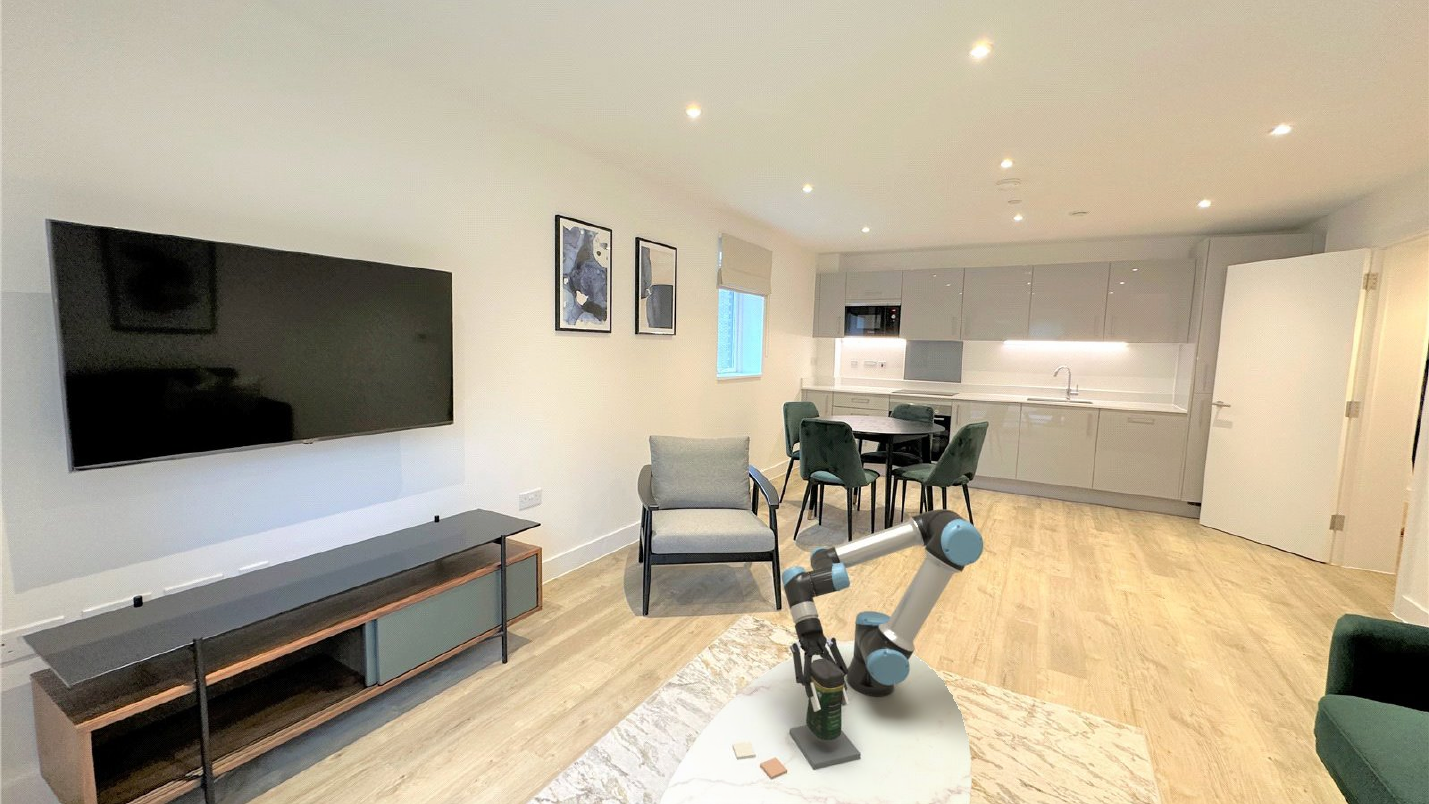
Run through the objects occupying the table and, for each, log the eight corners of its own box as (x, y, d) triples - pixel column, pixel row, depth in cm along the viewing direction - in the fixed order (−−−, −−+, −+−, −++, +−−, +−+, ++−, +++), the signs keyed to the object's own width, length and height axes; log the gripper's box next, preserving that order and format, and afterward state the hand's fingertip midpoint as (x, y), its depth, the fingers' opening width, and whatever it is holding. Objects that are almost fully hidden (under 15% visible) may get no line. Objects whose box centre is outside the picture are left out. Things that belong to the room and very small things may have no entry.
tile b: (750, 745, 151) (750, 741, 151) (755, 758, 146) (755, 754, 146) (732, 747, 150) (732, 743, 150) (737, 761, 145) (737, 757, 145)
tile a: (775, 761, 146) (775, 757, 145) (787, 774, 141) (787, 770, 141) (759, 768, 143) (760, 763, 143) (771, 781, 139) (771, 776, 139)
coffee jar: (846, 737, 148) (850, 672, 147) (821, 745, 145) (825, 678, 143) (824, 715, 157) (829, 653, 155) (801, 721, 154) (805, 658, 152)
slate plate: (832, 724, 160) (833, 719, 160) (860, 758, 147) (860, 753, 147) (789, 733, 156) (789, 728, 156) (813, 769, 143) (814, 764, 142)
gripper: (832, 621, 167) (858, 704, 153) (769, 629, 160) (791, 717, 146) (843, 612, 161) (871, 698, 148) (778, 620, 155) (802, 711, 141)
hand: (831, 707), depth 147 cm, fingers closed on coffee jar, 8 cm apart
